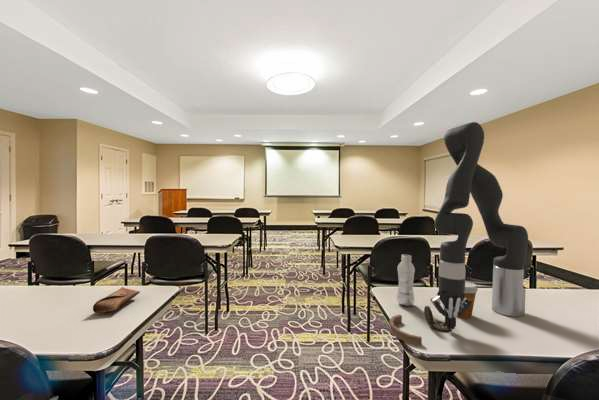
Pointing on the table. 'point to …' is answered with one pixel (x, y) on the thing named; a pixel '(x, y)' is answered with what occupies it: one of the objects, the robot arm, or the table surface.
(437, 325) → the compass
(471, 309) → the disposable coffee cup
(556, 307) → the table surface
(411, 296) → the plastic bottle
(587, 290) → the table surface
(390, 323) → the brown segmented arc
